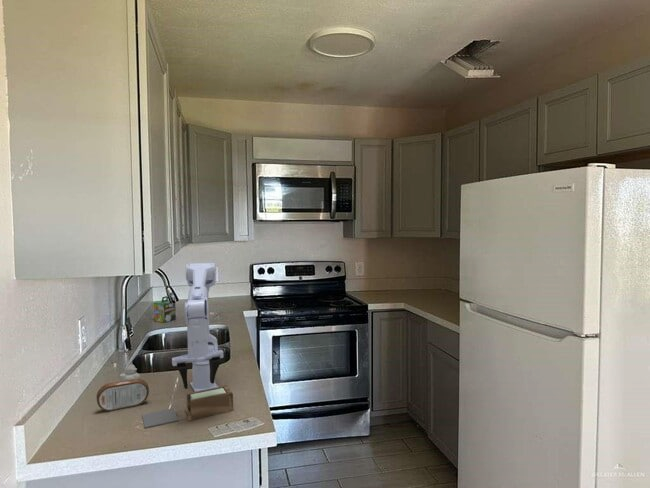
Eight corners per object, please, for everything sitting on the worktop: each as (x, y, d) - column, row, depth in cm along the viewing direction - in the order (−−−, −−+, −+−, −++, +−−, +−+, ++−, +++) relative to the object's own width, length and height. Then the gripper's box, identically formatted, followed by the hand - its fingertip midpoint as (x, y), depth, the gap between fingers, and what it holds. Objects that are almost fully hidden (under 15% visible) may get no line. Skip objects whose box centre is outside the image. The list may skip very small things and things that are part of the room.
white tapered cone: (138, 385, 152) (137, 363, 151) (118, 387, 150) (117, 365, 149) (141, 379, 157) (140, 358, 156) (121, 381, 155) (120, 360, 155)
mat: (142, 415, 127) (142, 414, 127) (173, 409, 131) (173, 408, 131) (144, 428, 119) (144, 427, 119) (178, 421, 124) (178, 419, 123)
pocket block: (184, 410, 130) (184, 393, 130) (226, 401, 136) (226, 385, 136) (189, 420, 124) (188, 402, 124) (233, 410, 130) (232, 393, 130)
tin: (149, 400, 138) (148, 375, 138) (150, 404, 136) (149, 378, 135) (97, 410, 131) (95, 384, 131) (96, 414, 128) (95, 387, 128)
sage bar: (190, 402, 129) (190, 394, 129) (223, 395, 134) (222, 388, 134) (193, 407, 126) (193, 399, 126) (226, 400, 131) (226, 392, 130)
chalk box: (165, 318, 258) (164, 294, 258) (176, 319, 254) (175, 295, 253) (153, 321, 250) (152, 296, 249) (164, 323, 246) (163, 298, 245)
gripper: (174, 347, 117) (175, 394, 118) (225, 339, 124) (226, 384, 125) (170, 341, 123) (171, 386, 124) (219, 334, 130) (220, 377, 131)
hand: (199, 385), depth 125 cm, fingers open, 7 cm apart
